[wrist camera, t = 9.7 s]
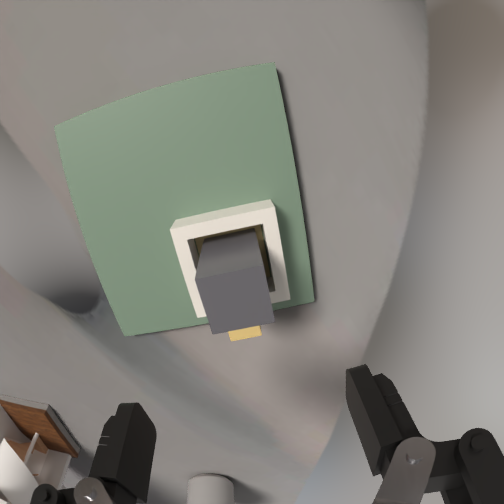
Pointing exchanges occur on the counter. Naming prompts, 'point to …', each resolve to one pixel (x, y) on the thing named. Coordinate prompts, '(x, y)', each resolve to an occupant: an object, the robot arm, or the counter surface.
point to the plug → (234, 285)
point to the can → (210, 490)
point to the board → (186, 192)
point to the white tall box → (31, 449)
